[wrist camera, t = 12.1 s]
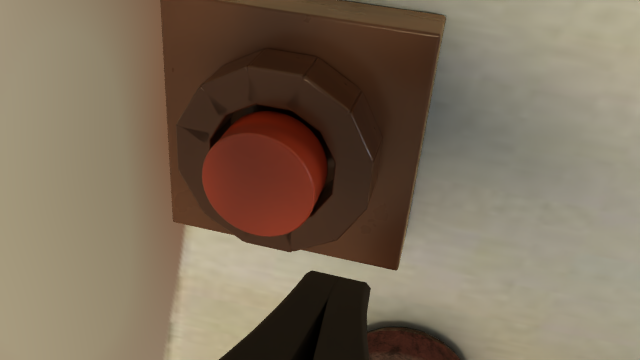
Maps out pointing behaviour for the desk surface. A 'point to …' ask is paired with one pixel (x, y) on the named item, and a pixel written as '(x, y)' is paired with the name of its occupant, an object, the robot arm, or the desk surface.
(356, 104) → the button block
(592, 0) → the desk surface
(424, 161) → the desk surface
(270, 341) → the robot arm
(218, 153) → the button
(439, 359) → the can
